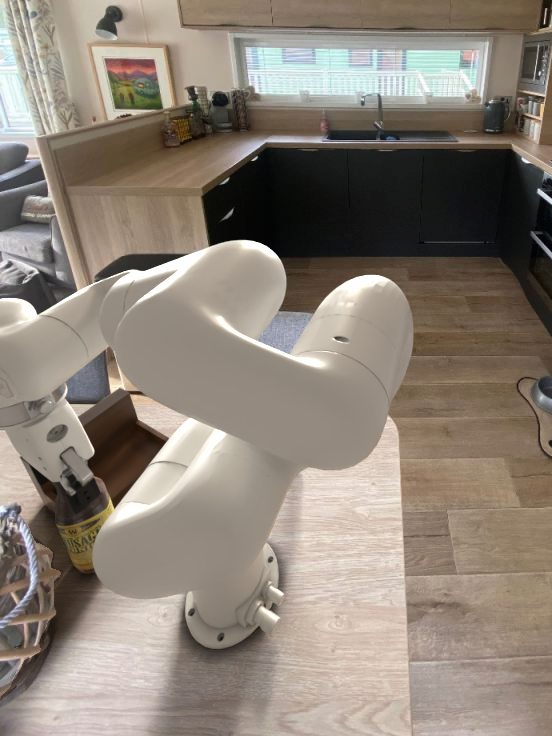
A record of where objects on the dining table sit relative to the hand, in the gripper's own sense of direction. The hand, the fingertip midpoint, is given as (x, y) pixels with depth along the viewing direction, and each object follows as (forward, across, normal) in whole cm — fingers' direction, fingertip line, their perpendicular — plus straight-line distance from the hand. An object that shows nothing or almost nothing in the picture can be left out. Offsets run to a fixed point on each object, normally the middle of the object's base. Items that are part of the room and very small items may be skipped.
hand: (69, 488), depth 54 cm
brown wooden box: (+15, +10, -8) cm, 20 cm away
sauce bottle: (+16, 0, 0) cm, 16 cm away
